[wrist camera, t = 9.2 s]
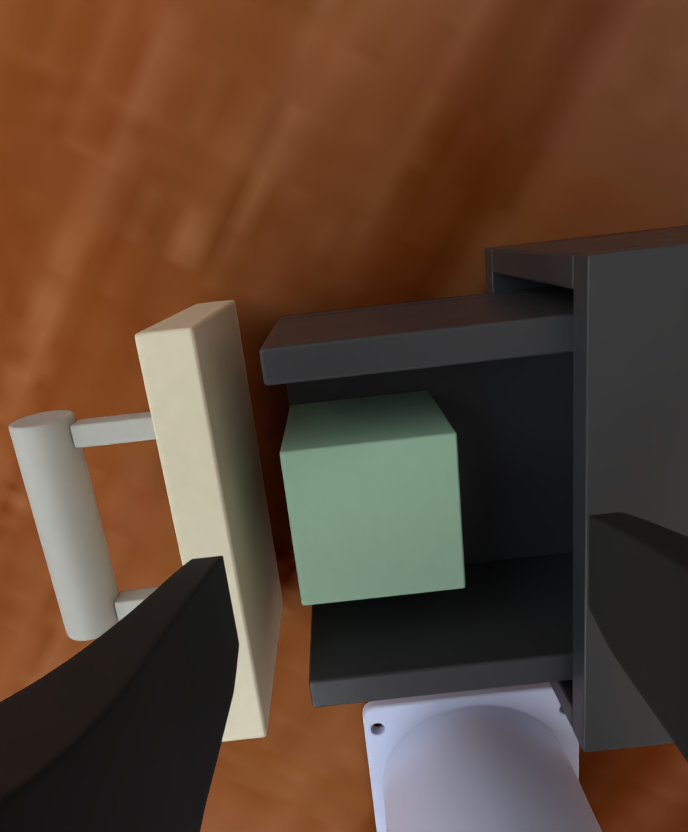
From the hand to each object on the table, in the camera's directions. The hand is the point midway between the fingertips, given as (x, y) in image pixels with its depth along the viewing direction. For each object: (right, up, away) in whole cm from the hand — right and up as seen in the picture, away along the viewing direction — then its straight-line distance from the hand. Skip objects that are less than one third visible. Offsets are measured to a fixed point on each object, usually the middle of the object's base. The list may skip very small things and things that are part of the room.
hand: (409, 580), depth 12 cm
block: (-1, +2, +6) cm, 6 cm away
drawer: (-1, +2, +7) cm, 7 cm away
